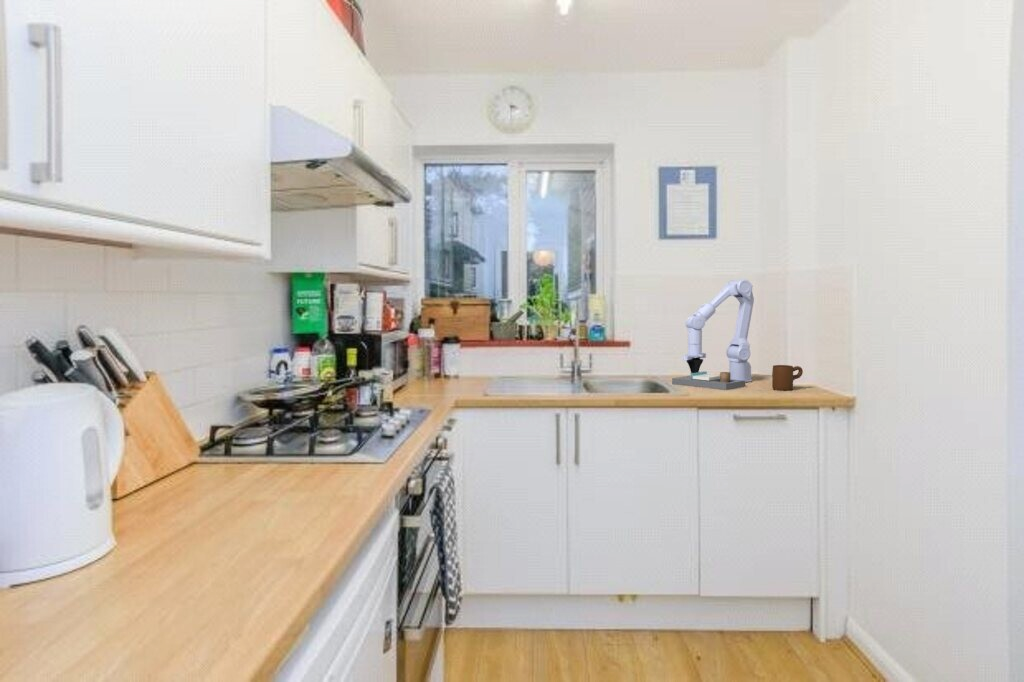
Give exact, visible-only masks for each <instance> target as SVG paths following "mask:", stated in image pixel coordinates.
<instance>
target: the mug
mask: <svg viewBox="0 0 1024 682" xmlns="http://www.w3.org/2000/svg"><path fill="white" fill-rule="evenodd" d="M771 371H772V373H771V374H772V376H771V377H772V378H771V381H772V386H771V387H772V390H775V391H782V392H783V391H784V392H787V391H789V392H790V391H792V390H793V389H794V381H795V380H797V379H800V378H801V377H802V375H803V372H804V371H803V368H802V366H798V365H795V366H793V365H789V364H788V365H787V364H776V365H772V370H771ZM795 371H798V372H797V374H794V372H795Z"/></svg>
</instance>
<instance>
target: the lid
mask: <svg viewBox="0 0 1024 682" xmlns="http://www.w3.org/2000/svg"><path fill="white" fill-rule="evenodd" d="M689 376H690V379H699V380H716V379H720V374H711V373H710V374H709V373H707V371H705V370H704V371H699V372H697V373H691V372H690V374H689Z"/></svg>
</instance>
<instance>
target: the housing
mask: <svg viewBox="0 0 1024 682" xmlns="http://www.w3.org/2000/svg"><path fill="white" fill-rule="evenodd" d="M671 384H672V385H678V386H688V387H695V388H697V387H698V388H705V389H711V390H712V389H713V390H714V389H715V390H721V391H722V390H723V391H728V390H735V389H738V388H744V387H746V382H745V380H735V379H730V382H720V379H716V380H699V379H690V375H685V376H677V377H672V378H671Z"/></svg>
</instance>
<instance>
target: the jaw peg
mask: <svg viewBox="0 0 1024 682" xmlns="http://www.w3.org/2000/svg"><path fill="white" fill-rule="evenodd" d="M730 374H731V373H730V372H729V371H721V372H720V373H719V375H720V382H730Z"/></svg>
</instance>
